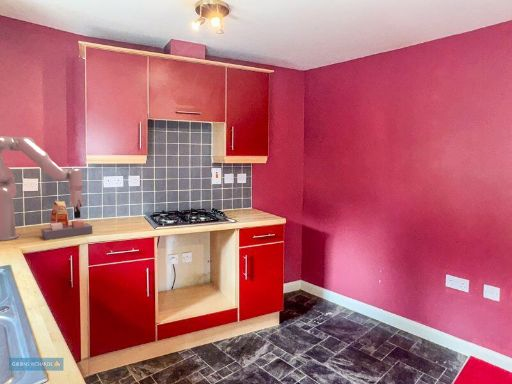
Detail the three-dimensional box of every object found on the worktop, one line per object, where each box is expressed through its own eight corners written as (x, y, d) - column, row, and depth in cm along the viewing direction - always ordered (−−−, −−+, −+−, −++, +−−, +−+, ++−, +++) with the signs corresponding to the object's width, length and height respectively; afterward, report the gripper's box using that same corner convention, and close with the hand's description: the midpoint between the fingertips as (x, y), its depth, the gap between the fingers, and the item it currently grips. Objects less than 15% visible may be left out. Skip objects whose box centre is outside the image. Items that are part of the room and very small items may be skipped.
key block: (41, 236, 225) (41, 228, 224) (87, 230, 242) (86, 223, 241) (45, 240, 217) (45, 231, 216) (92, 233, 233) (92, 225, 233)
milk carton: (57, 232, 237) (55, 201, 234) (49, 230, 241) (47, 200, 239) (71, 229, 244) (69, 199, 242) (63, 227, 249) (61, 198, 247)
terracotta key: (71, 228, 233) (71, 221, 232) (81, 227, 237) (80, 220, 236) (74, 230, 229) (73, 222, 228) (83, 229, 232) (83, 221, 232)
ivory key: (50, 231, 225) (49, 223, 225) (60, 230, 229) (60, 222, 228) (52, 233, 221) (52, 225, 220) (62, 232, 225) (62, 223, 224)
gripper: (66, 187, 233) (67, 216, 235) (72, 190, 221) (74, 220, 224) (78, 187, 238) (80, 215, 240) (85, 189, 226) (87, 218, 228)
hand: (77, 217), depth 232 cm, fingers closed
